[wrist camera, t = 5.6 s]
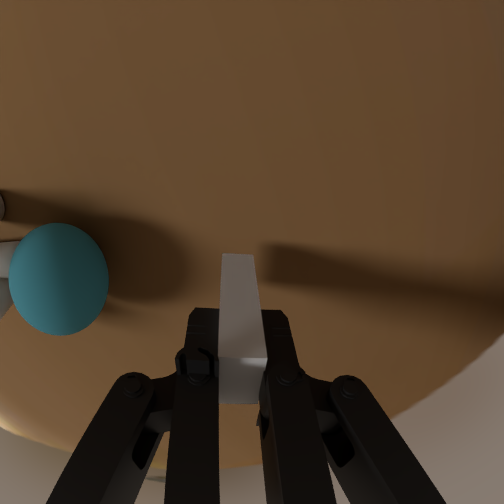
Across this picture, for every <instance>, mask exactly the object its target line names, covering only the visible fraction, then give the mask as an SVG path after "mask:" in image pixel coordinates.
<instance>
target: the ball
mask: <svg viewBox="0 0 504 504" xmlns="http://www.w3.org/2000/svg"><path fill="white" fill-rule="evenodd" d="M8 279H9V289H10V293H11V297H12V300H13V302H14V304H15V306H16V308H17V310H18V311H19V313H20V314H21V316H22V317H23V318H24V319H25V320H26V321H27V322H28V323H29V324H30V325H32V326H33V327H34V328H36V329H38V330H40V331H42V332H44V333H47V334H51V335H59V336H61V335H70V334H74V333H76V332H79V331H81V330H83V329H84V328H86V327H87V326H89V325H90V324H91V323H92V322H93V321H94V320H95V319H96V317H97V316H98V315H99V313H100V312H101V310H102V308H103V306H104V304H105V301H106V298H107V294H108V287H109V275H108V268H107V264H106V261H105V258H104V256H103V253H102V251H101V250H100V248H99V247H98V245H97V244H96V242H95V241H94V240H93V239H92V238H91V237H90V236H89V235H88V234H87V233H85V232H84V231H82V230H81V229H79V228H77V227H75V226H72V225H69V224H64V223H50V224H45V225H42V226H40V227H37V228H35V229H34V230H32V231H31V232H29V233H28V234H27V235H26V236H25V237H24V238H23V239H22V240H21V241H20V243H19V244H18V246H17V247H16V249H15V251H14V253H13V256H12V259H11V262H10V267H9V277H8Z"/></svg>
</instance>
